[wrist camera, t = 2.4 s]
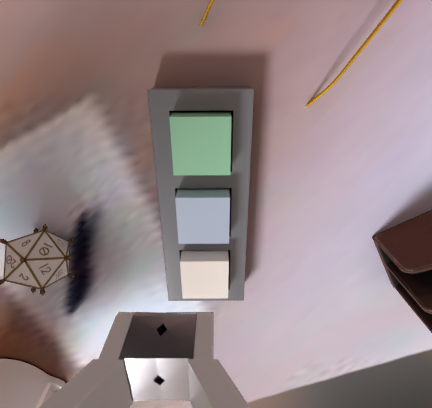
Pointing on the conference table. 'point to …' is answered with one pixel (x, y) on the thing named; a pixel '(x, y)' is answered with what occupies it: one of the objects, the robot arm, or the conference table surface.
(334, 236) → the conference table surface
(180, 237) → the slate blue button
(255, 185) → the conference table surface
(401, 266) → the letter holder
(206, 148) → the green button
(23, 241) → the game die
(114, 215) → the conference table surface
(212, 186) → the button panel
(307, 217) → the conference table surface
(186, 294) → the cream button
